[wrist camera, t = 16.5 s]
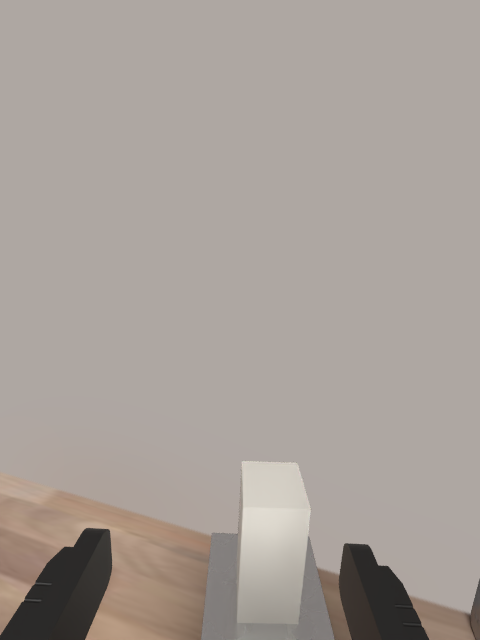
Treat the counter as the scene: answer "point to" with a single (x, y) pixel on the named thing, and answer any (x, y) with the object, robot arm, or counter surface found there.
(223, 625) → the block
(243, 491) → the cream block
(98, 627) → the counter surface
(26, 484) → the counter surface
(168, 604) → the counter surface
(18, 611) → the robot arm
